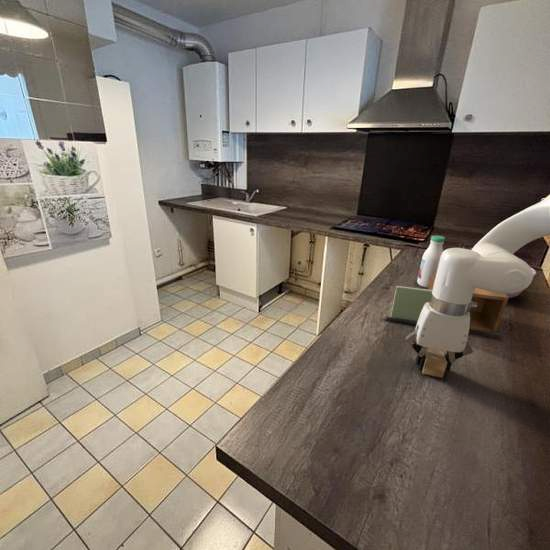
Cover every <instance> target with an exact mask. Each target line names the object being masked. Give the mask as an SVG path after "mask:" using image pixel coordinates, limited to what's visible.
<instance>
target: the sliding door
mask: <svg viewBox="0 0 550 550" xmlns="http://www.w3.org/2000/svg"><path fill="white" fill-rule="evenodd" d="M427 289H428V288H419V287H411V286H402V285H396V287H395V292H394V297H393V303H392V308H391V312H390V317H395V318H401V319H408V320H414V321H418V319H419V316H420V313H421V311H422V309H423V307H424V305H425V303H427V302H430V298H431V294H432V290H427Z"/></svg>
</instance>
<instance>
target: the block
mask: <svg viewBox="0 0 550 550" xmlns="http://www.w3.org/2000/svg"><path fill="white" fill-rule="evenodd" d="M445 354H446V353H445V350H439V349H433V348H428V349H427V351H426V353H425V362H424V366H423V370H422V371H421V374H422V375H427V376H432V377H435V378H436V377H437V378H444V376H445V375H444V373H445V369H446V366H447V360H446V357H445Z"/></svg>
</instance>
